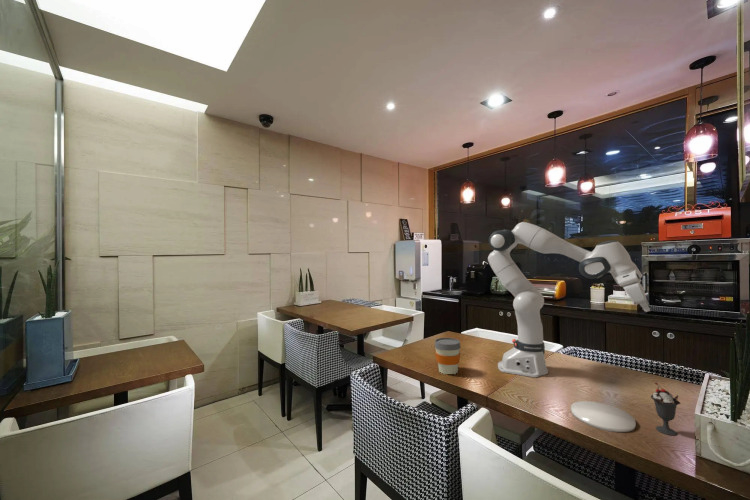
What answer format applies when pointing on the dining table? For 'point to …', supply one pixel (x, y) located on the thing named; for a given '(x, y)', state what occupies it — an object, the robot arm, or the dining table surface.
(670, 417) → the sundae
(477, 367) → the dining table surface
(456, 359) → the reusable coffee cup
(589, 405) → the serving plate
